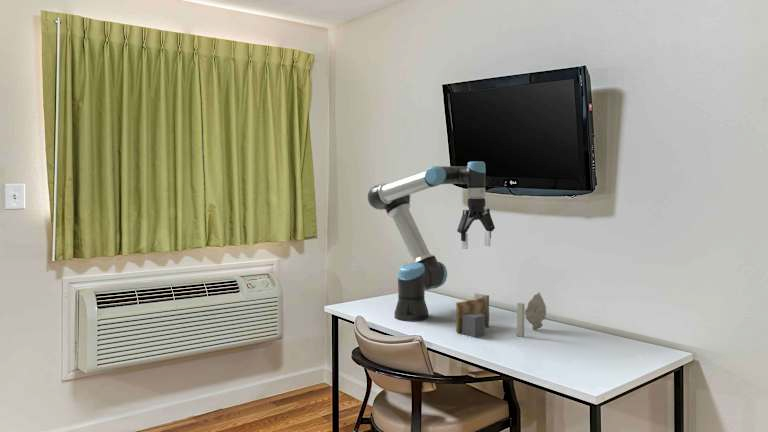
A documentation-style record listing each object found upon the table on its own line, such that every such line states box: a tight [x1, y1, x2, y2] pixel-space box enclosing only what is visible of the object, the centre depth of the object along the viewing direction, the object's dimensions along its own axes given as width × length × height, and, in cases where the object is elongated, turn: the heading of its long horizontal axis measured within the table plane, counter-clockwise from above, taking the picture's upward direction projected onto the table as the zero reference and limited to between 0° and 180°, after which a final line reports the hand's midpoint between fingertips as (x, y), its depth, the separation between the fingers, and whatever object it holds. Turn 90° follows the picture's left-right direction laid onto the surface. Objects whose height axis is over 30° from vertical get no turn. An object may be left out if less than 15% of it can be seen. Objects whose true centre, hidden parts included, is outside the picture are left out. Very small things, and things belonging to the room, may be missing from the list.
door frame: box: [474, 292, 526, 338], centre depth 240 cm, size 26×2×13 cm, turn 37°
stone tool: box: [524, 292, 547, 331], centre depth 239 cm, size 11×4×15 cm, turn 119°
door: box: [455, 298, 486, 334], centre depth 240 cm, size 15×2×12 cm, turn 126°
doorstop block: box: [461, 312, 485, 339], centre depth 233 cm, size 7×5×8 cm
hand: (476, 247), depth 253 cm, fingers open, 13 cm apart
